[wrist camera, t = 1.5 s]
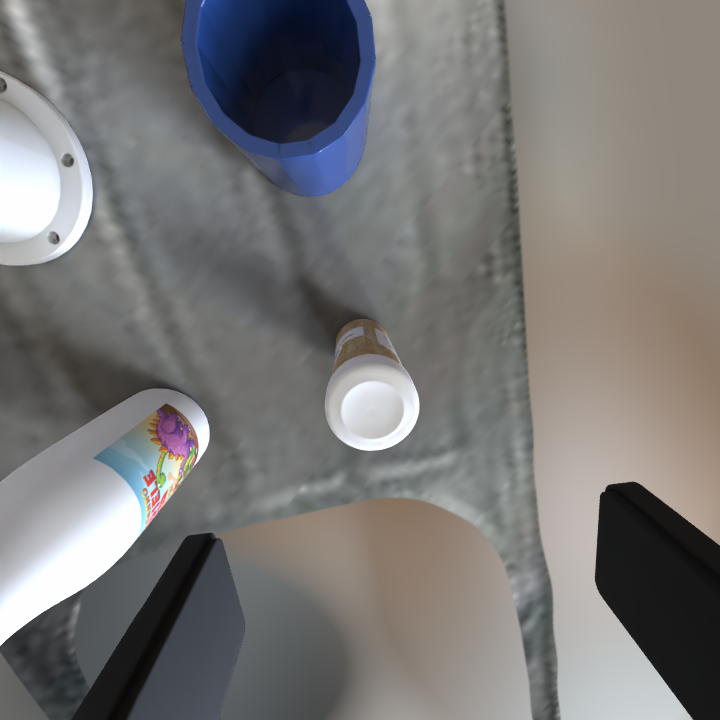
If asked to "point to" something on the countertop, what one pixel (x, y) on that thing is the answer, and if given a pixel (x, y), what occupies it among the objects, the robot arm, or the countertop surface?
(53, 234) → the robot arm
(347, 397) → the sprinkles bottle
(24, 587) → the milk bottle
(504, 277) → the countertop surface
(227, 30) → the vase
